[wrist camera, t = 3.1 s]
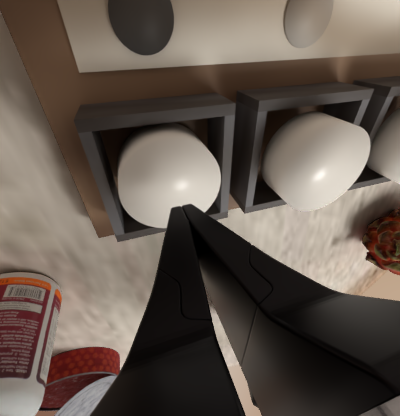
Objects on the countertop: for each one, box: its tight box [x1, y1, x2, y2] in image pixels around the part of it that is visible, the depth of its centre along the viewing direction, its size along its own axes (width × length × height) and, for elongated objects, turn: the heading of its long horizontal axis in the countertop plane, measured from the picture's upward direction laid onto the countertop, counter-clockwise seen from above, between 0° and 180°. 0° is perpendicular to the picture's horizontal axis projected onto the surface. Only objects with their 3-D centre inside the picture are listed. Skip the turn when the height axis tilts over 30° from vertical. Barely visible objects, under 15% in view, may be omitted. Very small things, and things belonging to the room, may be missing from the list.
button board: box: [0, 0, 400, 242], centre depth 14 cm, size 14×26×4 cm, turn 91°
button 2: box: [117, 122, 221, 228], centre depth 12 cm, size 5×5×2 cm
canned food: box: [39, 347, 120, 416], centre depth 27 cm, size 11×10×10 cm
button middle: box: [261, 111, 370, 212], centre depth 13 cm, size 5×5×2 cm
